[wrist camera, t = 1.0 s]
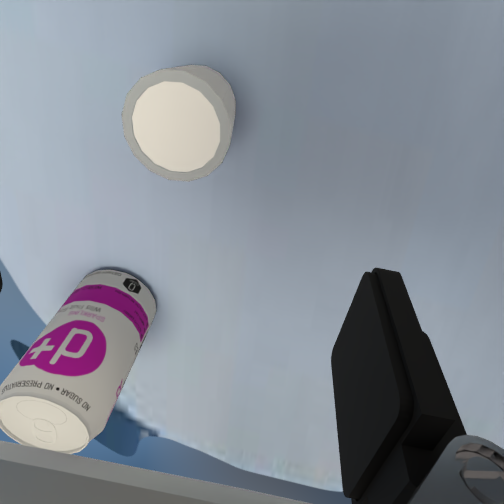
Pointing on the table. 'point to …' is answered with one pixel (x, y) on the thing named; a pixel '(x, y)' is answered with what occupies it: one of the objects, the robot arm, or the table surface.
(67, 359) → the supplement can
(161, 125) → the white cylinder
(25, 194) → the table surface
